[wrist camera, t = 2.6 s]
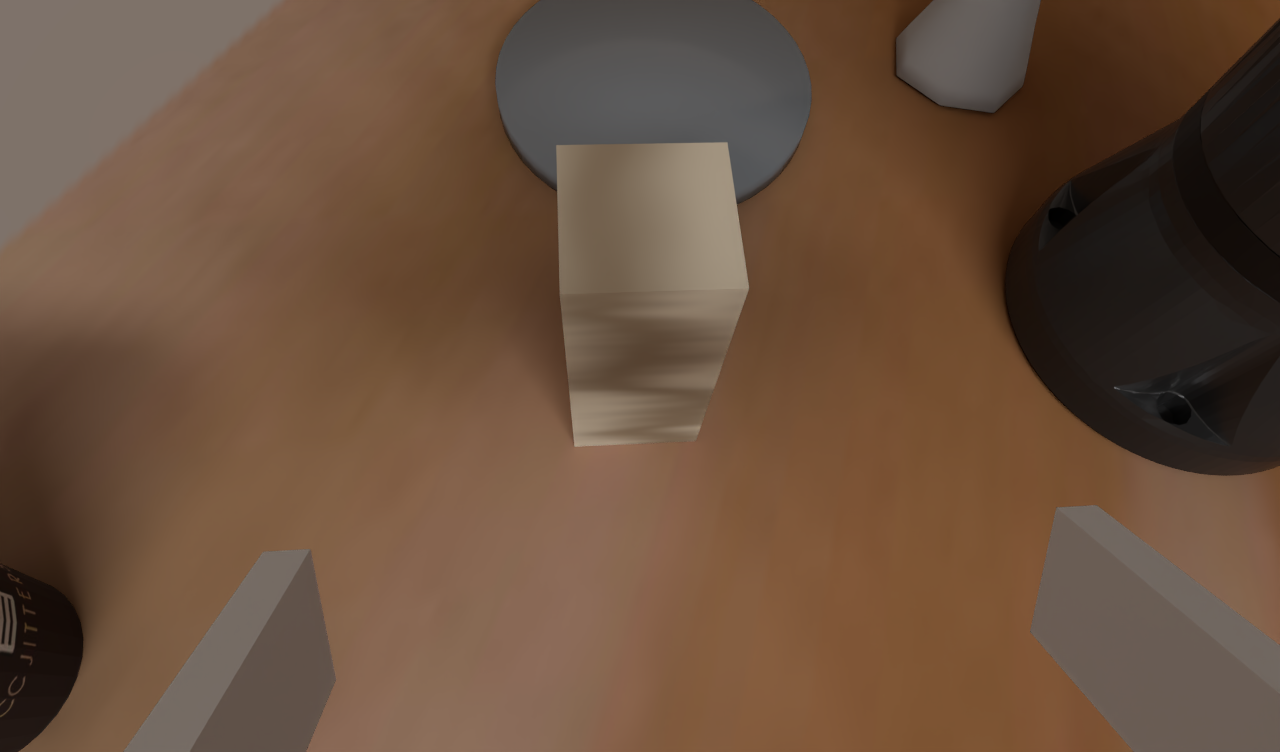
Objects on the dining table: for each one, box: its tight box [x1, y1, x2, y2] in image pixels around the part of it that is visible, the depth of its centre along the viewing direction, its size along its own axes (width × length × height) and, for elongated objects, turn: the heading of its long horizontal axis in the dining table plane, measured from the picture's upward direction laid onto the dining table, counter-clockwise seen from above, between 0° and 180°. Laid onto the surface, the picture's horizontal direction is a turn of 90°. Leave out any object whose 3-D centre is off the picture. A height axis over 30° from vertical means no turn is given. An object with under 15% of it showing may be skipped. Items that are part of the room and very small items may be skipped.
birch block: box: [556, 142, 749, 447], centre depth 26 cm, size 5×5×12 cm
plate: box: [495, 0, 811, 204], centre depth 38 cm, size 16×16×1 cm
